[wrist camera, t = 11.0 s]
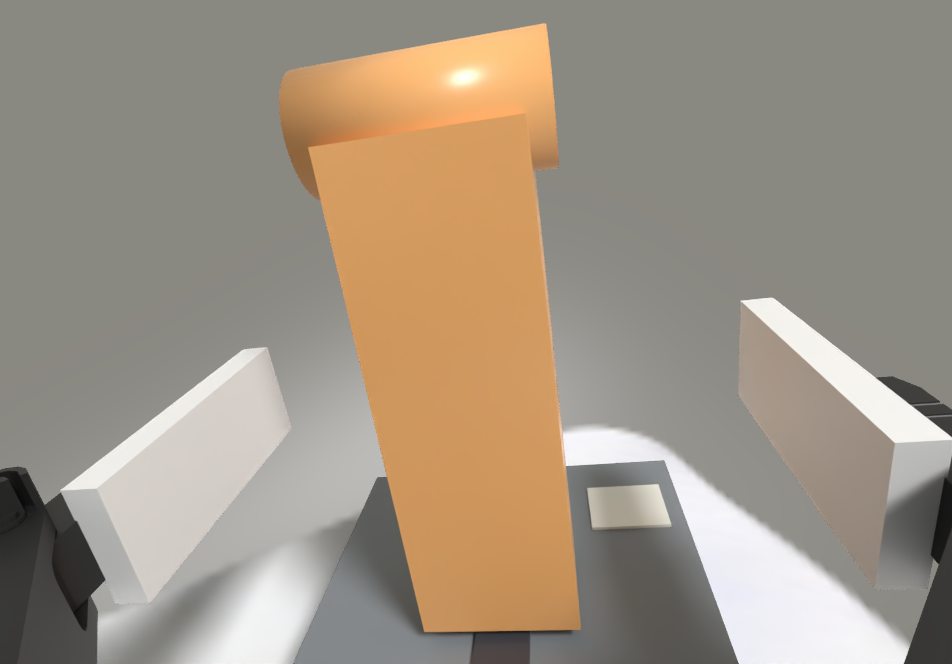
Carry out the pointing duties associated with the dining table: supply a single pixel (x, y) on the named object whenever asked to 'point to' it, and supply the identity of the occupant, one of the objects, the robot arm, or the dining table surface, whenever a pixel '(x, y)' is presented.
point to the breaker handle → (451, 310)
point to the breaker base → (598, 580)
